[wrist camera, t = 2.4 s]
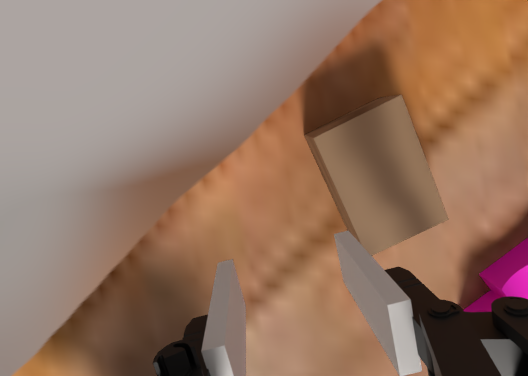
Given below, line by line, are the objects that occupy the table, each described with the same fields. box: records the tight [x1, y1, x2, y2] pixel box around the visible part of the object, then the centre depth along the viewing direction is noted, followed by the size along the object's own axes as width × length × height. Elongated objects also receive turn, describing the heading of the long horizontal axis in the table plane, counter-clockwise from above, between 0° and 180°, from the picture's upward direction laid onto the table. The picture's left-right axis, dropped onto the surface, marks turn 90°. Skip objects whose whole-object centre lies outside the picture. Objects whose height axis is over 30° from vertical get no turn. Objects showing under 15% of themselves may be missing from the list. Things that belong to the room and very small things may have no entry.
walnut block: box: [304, 95, 449, 256], centre depth 31 cm, size 8×12×5 cm, turn 26°
